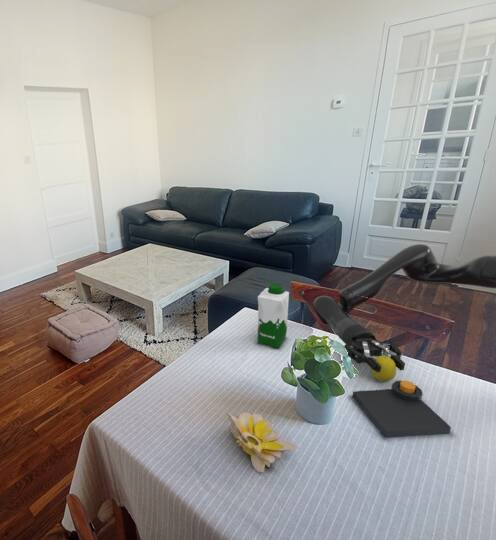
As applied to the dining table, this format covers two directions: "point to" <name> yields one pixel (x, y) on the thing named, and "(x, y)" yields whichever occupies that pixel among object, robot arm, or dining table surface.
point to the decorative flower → (258, 439)
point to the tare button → (407, 387)
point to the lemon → (385, 368)
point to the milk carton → (272, 316)
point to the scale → (400, 412)
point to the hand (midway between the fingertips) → (391, 368)
